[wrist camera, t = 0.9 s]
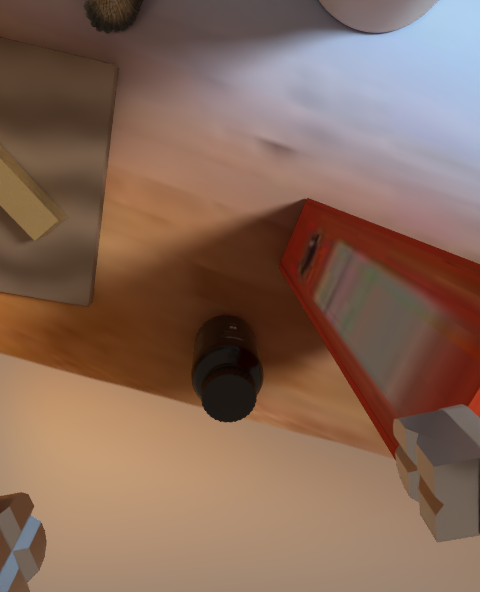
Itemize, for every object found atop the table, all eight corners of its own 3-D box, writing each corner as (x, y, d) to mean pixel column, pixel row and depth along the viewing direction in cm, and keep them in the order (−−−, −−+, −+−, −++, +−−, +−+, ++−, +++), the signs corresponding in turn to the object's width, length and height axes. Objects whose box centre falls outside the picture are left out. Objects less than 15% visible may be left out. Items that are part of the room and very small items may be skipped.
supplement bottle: (265, 327, 46) (282, 380, 35) (239, 377, 48) (247, 443, 37) (209, 304, 45) (208, 351, 34) (185, 356, 47) (176, 417, 35)
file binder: (414, 319, 47) (781, 598, 17) (277, 269, 44) (416, 494, 14) (449, 254, 45) (940, 438, 15) (306, 197, 42) (547, 277, 12)
